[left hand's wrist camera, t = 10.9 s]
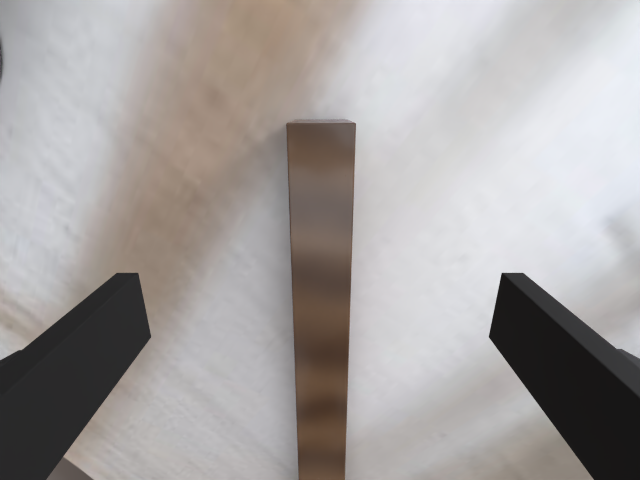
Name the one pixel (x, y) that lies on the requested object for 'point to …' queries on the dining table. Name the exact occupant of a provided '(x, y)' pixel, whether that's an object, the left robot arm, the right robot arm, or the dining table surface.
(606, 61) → the dining table surface
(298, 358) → the bar
